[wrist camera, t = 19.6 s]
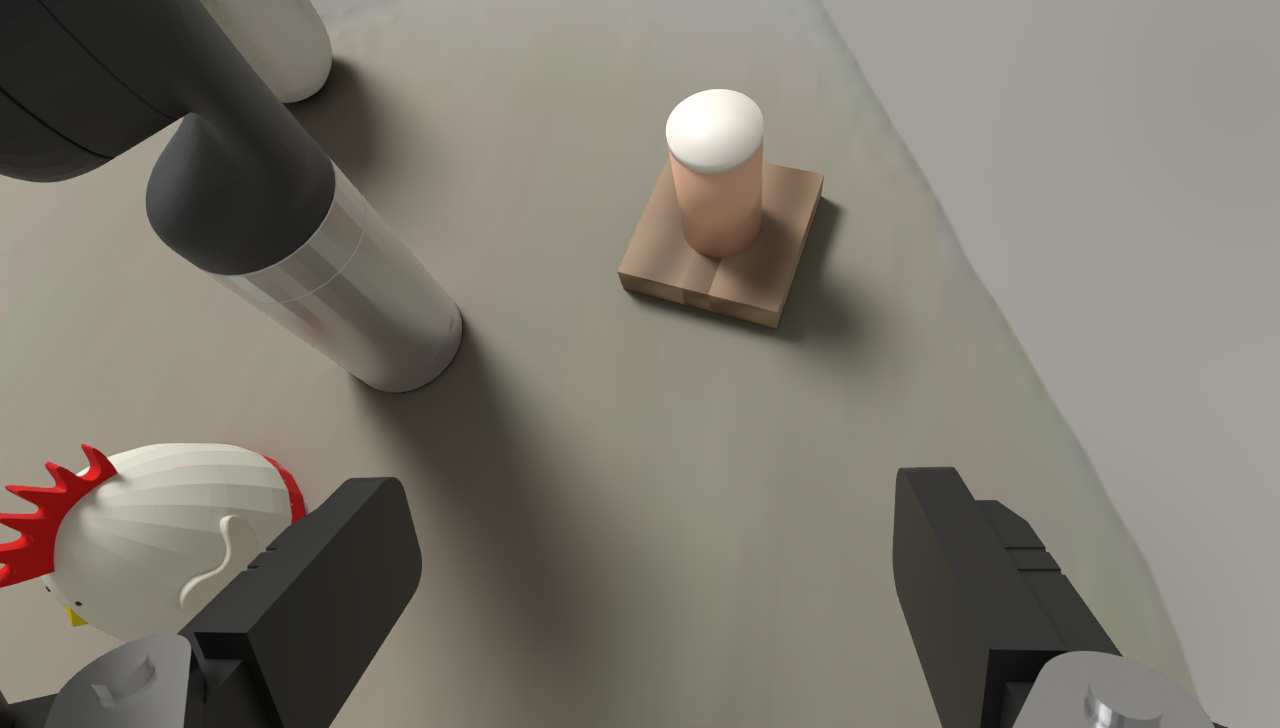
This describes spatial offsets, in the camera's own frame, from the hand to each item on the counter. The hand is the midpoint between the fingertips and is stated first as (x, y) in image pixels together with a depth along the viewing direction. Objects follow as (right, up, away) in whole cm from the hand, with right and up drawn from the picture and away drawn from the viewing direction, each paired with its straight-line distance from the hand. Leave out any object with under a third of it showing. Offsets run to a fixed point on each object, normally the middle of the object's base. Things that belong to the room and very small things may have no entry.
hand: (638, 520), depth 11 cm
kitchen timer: (-31, -11, +37) cm, 49 cm away
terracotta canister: (+6, +13, +38) cm, 40 cm away
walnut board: (+6, +12, +40) cm, 42 cm away
